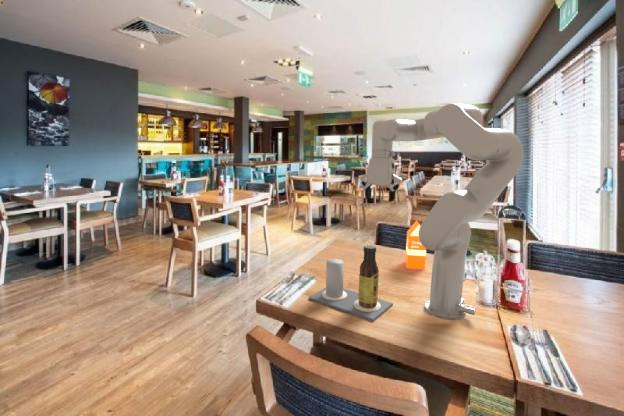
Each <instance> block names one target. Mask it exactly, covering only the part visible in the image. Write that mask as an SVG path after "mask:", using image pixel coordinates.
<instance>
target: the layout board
mask: <svg viewBox="0 0 624 416" xmlns="http://www.w3.org/2000/svg"><path fill="white" fill-rule="evenodd" d="M344 268H345V262H344V260H342V259H339V258H330V259H328V260H326V268H325V269H326V273H325V274H326V275H325V288H323V289H321V290H319V291H317V292H315V293H313V294H312V295H309V297H308V300H310V301H313V302H315V303H318V304H322V305H324V306H327V307H330V308H331V309H332V308H333V309H336V310H339V311H341V312H344V313H346V314H350V315H354V316H356V317H358V318H362V319H365V320H367V321H371V322H375V321H376V320H377V319H378V318H380V317H381V316H382V315H383V314H384V313H386V311H388V310H389V309H390V308H392V307H393V305H394V303H393V302H391V301H386V300H384V299H380V298H378V300H377V305H376V306H375V307H373V308H364V307H362V306H360V305H359V291H358V292H357V291H354V290H350V289H347V288H344V273H345V271H344V270H345V269H344Z"/></svg>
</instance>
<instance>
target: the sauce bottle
mask: <svg viewBox="0 0 624 416" xmlns="http://www.w3.org/2000/svg"><path fill="white" fill-rule="evenodd" d="M376 252H377V246H376V245H370V244H368V245H363V261H362V262H361V263H360V266H359V273H358V274H359V275H358V276H359V277H358V293H359V305H360V306H362V307H364V308H373V307H375V306H376V305H377V300H378V299H379V298H378V296H379V273H380V271H379V267H378V264H377V260H376Z"/></svg>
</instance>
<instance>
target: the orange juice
mask: <svg viewBox="0 0 624 416" xmlns="http://www.w3.org/2000/svg"><path fill="white" fill-rule="evenodd" d="M418 221H419V220H417V219H416V220H415V222H414V223H413V224H412V225H411V226H410V228H409V229H408V230H407V231H406V245H405V266H406V269H413V270H414V269H415V270H425V269H426V256H427V249H426V248H425V247H423V246H422V244H421V243H420V241H419V229H420V226H421V224H420V223H419V222H418Z"/></svg>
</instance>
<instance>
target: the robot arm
mask: <svg viewBox="0 0 624 416" xmlns="http://www.w3.org/2000/svg"><path fill="white" fill-rule="evenodd" d="M483 120H484V115H483V113H482V111H481V109H480V108H478V107H477V106H475V105H472V104H464V103H457V102H456V103H454V102H451V103H447V104H445V105H443V106H442V107H440V108H439V109H438V110H433V111H430V112H428V113H426V114H425V116H424V118H420V119H419V118H418V119H398V118H397V119H395V118H394V119H393V118H392V119H388V120H377V121H374V122H373V123H372V137H371V157H370V158H369V161H368V166H367V173H365V174H363V175H361V176H359V179H360V182H361V185H362V187H364V189H365V190H364V191H365V193H364V195H365V199H366V200H369V199H371V198H372V188H371V187H372V186H373V185H374V186H375V185H376V186H385V187H386V186H387V187H388V188H389V191H388V202H389V203H392V202H394V201H395V199H396V191H397V190H398V189H399V188H400V187H401V185H402V183H403V181H404V180H403V178H401V177H400V176H398V175H396V164H395V159H394V158H393V157H395V156H396V152H395V151H394V150H393V143H394V142H416V141H418V142H419V141H426V140H434V139H439V138H440V139H442V138H444V139H446V140H447V141H448V142H449V143H450V144H451V145H453V146H454V147H455V148H456V149H457V150H458V151H459V152H460V153H461V154H462V155H463V156H465V157H466V158H468V159H470V160H472V161H477V162H478V161H487V162H486V163H485V164H484V165H483V166H482V167H481V168H480V169H479V170H478V171H477V172H476V173H475V174H474V175H473V177H472V178H471V180H470V181H469V182H468V183H467V185H466V186H465V187H464V188H462V189H459V190H452V191H449V192H446V193H445V194H443V195H442V196H440V197H439V199H437V200H436V201H435V203H434V205H433V206H432V208H431V209H430V211H428V212H429V213H428V214H427V215H426V217H425V218H424V220H422V222H421V224H420V229H419V241H420V243H421V244H422V246H423V247H425V248H426V250H429V251H434V252H433V253H434V254H433V258H432V267H431V268H432V270H431V283H430V292H429V293H430V294H429V295H430V296H429V299H428V300H427V301H426V302H425V303H424V310H425V311H426V312H427V313H428V314H429V315H432V316H434V317H436V318H440V319H442V320H443V319H444V320H459V319H462V318H464V317H465V316H466V314H468V315H471V316H475V315H476V309H475V308H474V306H473V305H470V304H467V303H465V298H462V297H463V289H464V287H463V286H464V277H465V269H466V268H465V267H466V266H465V265H466V258H467V252H468V249H469V244H470V241H471V236H472V229H471V226H470V222H475V221H478V220H480V219H481V218H483V216H485V214H486V213H487V211H488V210H489V209H490V208H491V206H492V205H493V204H494V203H495V201H497V199H498V197H500V196H501V194H502V193H503V191H504V190H505V188H506V187H507V186H508V185H509V184H510V183H511V181H512V180H514V178H515V176H516V175H517V174H518V172H519V170H520V169H521V166H522V164H523V160H524V148H523V145H522V144H523V143H522V142H521V140H520V139H519V137H518V136H517V135H516V134H515V133H514V132H513V131H510V130H507V129H503V128H491V127H490V128H489V127H488V128H487V127H483V126H482V125H483Z"/></svg>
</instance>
